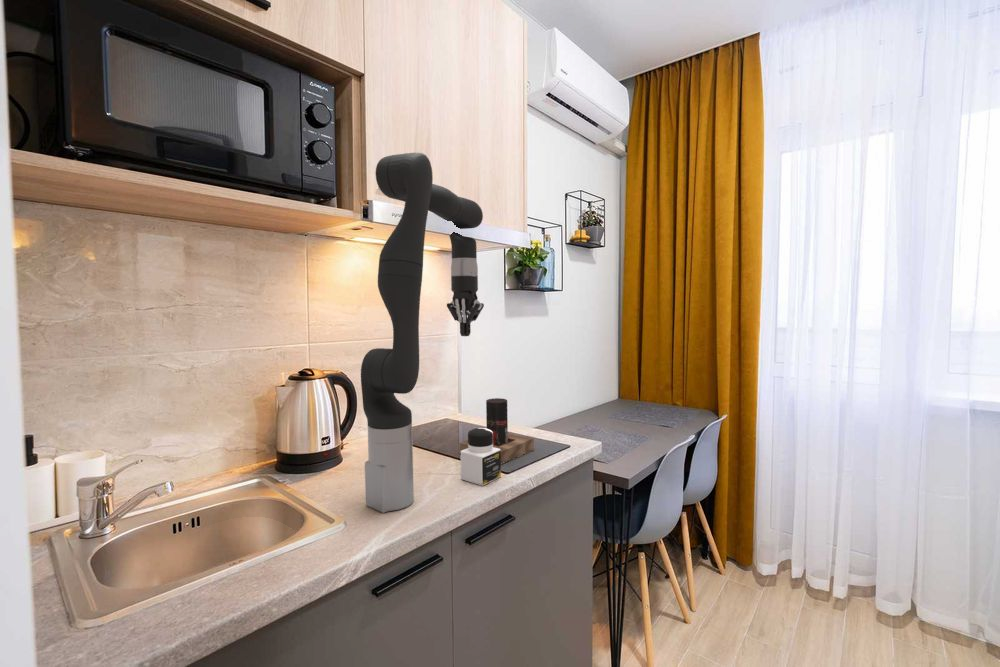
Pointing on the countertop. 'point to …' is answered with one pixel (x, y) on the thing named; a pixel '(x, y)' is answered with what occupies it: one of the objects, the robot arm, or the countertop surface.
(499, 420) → the deodorant
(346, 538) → the countertop surface
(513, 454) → the frame
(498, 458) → the medicine bottle
